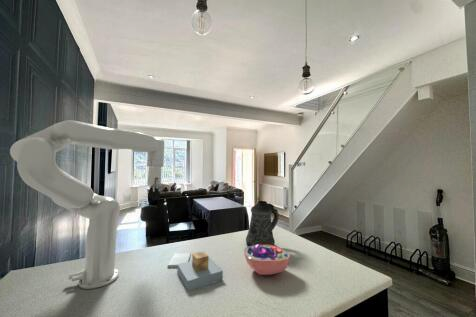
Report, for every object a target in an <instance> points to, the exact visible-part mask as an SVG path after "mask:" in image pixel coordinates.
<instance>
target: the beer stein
mask: <svg viewBox="0 0 476 317" xmlns="http://www.w3.org/2000/svg"><path fill="white" fill-rule="evenodd" d="M250 212H251V216H250V221H249V227H248V231H247V234H246V237H245V243H246V247H248V246H253V245H257V244H260V245H272V246H275V237H274V233H273V230H274V229H275V227H276V226H277V224H278V221H279V217H280V215H279V214H280V213H279V212H278V209H277V208H275V206H274V205H273V204H272V203H268V202H267V200H266V201H265V200H258V201H257V203H256V204H254V205H253V206H252V207H251V208H250ZM272 214H273V218H272V217H271V215H272Z"/></svg>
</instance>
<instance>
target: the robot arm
mask: <svg viewBox="0 0 476 317" xmlns="http://www.w3.org/2000/svg"><path fill="white" fill-rule="evenodd" d="M70 145H71V146H73V145H74V146H82V147H90V148H98V149H102V150H103V149H104V150H131V151H132V152H135V153H147V156H146V157H147V158H146V159H147V161H146V167H148V171H147V172H148V173H147V184H146V185H147V186H148V187H149V189H148V197H149V198H151V200H152V201H159V200H160V198H161V197H160V196H161V191H160V190H161V189H160V187H161V185H162V168H163V167H164V162H165V140H163V139H161V138H156V137H155V136H154V135H152V134H147V133H143V132H138V131H131V130H123V129H119V128H113V127H111V128H110V127H107V126H103V125H97V124H94V123H93V124H92V123H88V122H83V121H78V120H73V119H69V120H63V121H60V122H56V123H54V124H52V125H50V126H48V127H46V128H44V129H42V130H39V131H37V132H35V133H32V134H30V135H28V136H25V137H23V138H21V139H19V140H17V141H15V142H14V143H13V144H12V145H11V146H10V149H9V154H10V156H11V158H12V159H13V160H14V161H15V162H16V167H17V171H18V174H19V176H20V178H21V179H22V181H23V182H24V183H25V185H27V186H29V187H30V188H31V189H33V190H36V191H37V192H39V193H42V195H44V196H46V197H48V198H50V199H51V200H52V202H53V203H54V204H56V205H58V206H59V207H62V208H64V209H66V210H68V211H70V212H73V213H74V214H77V215H80V216H81V217H84V218H86V219H89V224H88V227H87V232H86V242H85V255H84V256H85V257H84V258H85V259H84V268H83V269H82V270H80V271H79V272H72V273H69V274H68V280H71V282H75V281H78V287H79V288H81V289H85V290H86V289H87V290H91V289H92V290H93V289H98V288H101V287H104V286H107V285H109V284H110V283H112V282H114V281H115V280H116V279H117V278H118V277H119V274H120V272H119V270H118V269H117V268H115V264H116V263H115V262H116V246H117V227H118V221H119V217H120V213H121V206H120V204H119V202H118V201H117V200H116V199H115V198H113V197H110V196H105V195H99V194H97V193H95V192H94V190H93V189H92V188H91V186H89V185H88V184H87V183H85V182H83V181H81V180H79V179H77V178H76V177H75V176H72V175H71V174H69V173H67V172H66V171H64V170H63V169H61V168H60V167H59V166H58V164H57V162H56V156H57V152H59V151H61V150H63V149H65V148H67V147H68V146H70Z"/></svg>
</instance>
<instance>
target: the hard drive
mask: <svg viewBox="0 0 476 317" xmlns="http://www.w3.org/2000/svg"><path fill="white" fill-rule="evenodd" d="M190 258H191V252H175V253H173V255H172V257H171V259H170V261H169V263H168V264H167V269H171V268H176V269H177V264H180V263H184V262H189V261H190Z"/></svg>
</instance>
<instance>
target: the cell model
mask: <svg viewBox="0 0 476 317" xmlns="http://www.w3.org/2000/svg"><path fill="white" fill-rule="evenodd" d="M243 255H244V257H245V260H246V263H247V265H248V266H249V267H250V268H251V270H253V271H254V272H255V273H256V274H258V275H262V276H267V275H274V274H280V273H283V272H284V271H285V270H286V269H287V268H288V264H289V260H290V257H291V253H290V252H288V251H287V250H285V249H283V248H282V247H279V246H276V245H274V246H272V245H260V244H257V245H253V246H248V247H247V246H246V247H245V248H244V249H243Z"/></svg>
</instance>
